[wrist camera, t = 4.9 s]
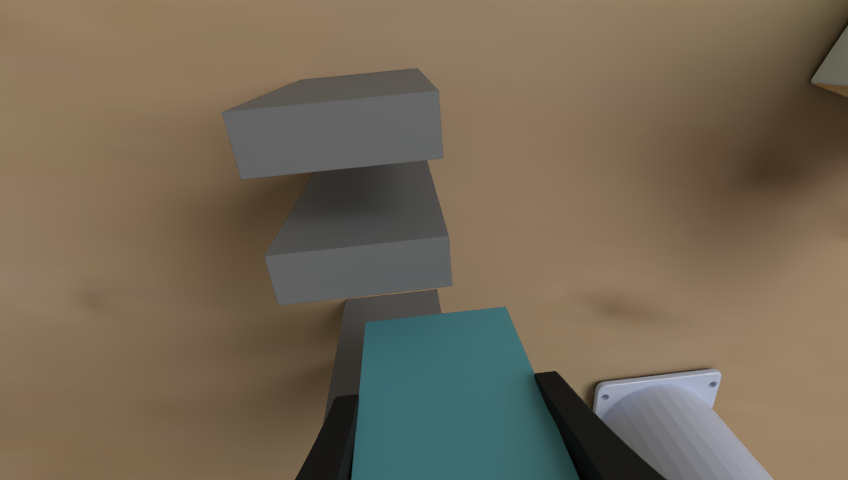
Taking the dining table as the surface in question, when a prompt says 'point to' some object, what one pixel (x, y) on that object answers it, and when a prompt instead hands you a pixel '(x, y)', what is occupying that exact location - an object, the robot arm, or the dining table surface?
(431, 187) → the domino
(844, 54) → the small box
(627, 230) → the dining table surface
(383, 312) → the domino
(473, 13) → the dining table surface
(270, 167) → the domino
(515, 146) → the dining table surface
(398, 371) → the teal domino
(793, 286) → the dining table surface
